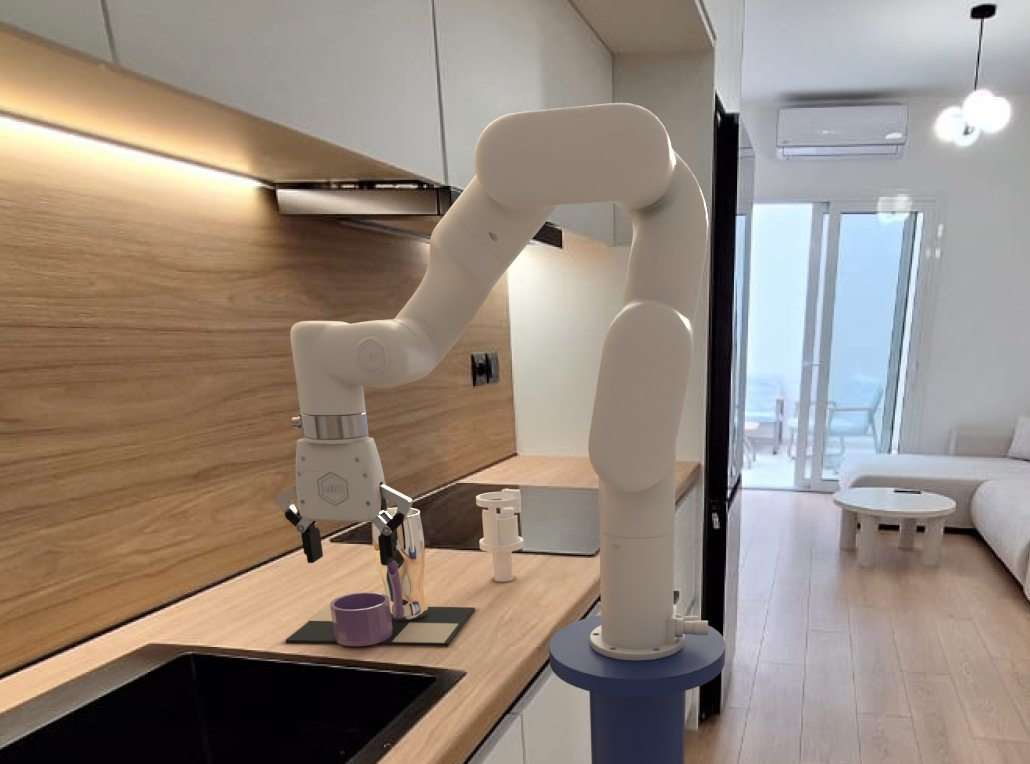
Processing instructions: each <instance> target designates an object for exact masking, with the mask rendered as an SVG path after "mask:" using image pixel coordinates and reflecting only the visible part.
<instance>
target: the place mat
mask: <svg viewBox="0 0 1030 764" xmlns="http://www.w3.org/2000/svg"><path fill="white" fill-rule="evenodd" d="M428 610H429V613H428V614H427V615H426V616H425V617H423V618H420V619H417V620H413V621H392V629H393V634H392V636H391V637H390V638H388V639H387V640H385V641H383V642H380V643H376V644H374V645H375V646H377V645H378V646H379V645H383V646H387V645H388V646H424V647H425V646H427V647H428V646H429V647H431V646H432V647H448V646H450V644H451V643H452V641H453V640H454V639H455V637H456V636H457V635H458V633H459V632H460V631H461V629H462V628H463V627H464V625H465V624H466V622H467V621H468V620H469V619H470V617H471V616H472V614H473V613H474V612H475V611H476V608H475V607H474V606H473V607H472V606H471V607H469V606H428ZM287 643H288V644H331V645H333V644H335V645H340V644H339V643H337V642H336V640H335V635H334V628H333V622H332V615H331V609H330V603H329V604H328V605H326V606H325V607H324V608H322V609H321V610H320V611H319V612H318V613H316V614H315V615H314V616H312V618H310V619H309V620H308V622H306V623H305V624H304V625H302V626H301V627H300V628H298V629H297V630H296V631H295V632H294V633H292V634H291V635H290V636H289V637H288V638H286V639H285V644H287Z"/></svg>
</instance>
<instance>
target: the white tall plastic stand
mask: <svg viewBox="0 0 1030 764" xmlns="http://www.w3.org/2000/svg"><path fill="white" fill-rule="evenodd" d="M475 504H476V506H478V507H480V508H488V509H481V511H482V513H481V518H482V529H483V537H482V538H480V539H479V541H478V542H479V549H480V550H481V551H483V552H488V553H492V563H493V575H494V576H493V577H494V581H495V582H499V583H505V582H510V581H513V580H514V568H513V554H512V552H516V551H519V550H522V549H523V548H524V546H525V545H524V538H523V537H522V536H520V535H519V524H518V515H517V514H520V513H521V512H522V495H521V489H515V488H514V489H510V488H503V489H502V490H500V491H492V492H485V493H481V494H478V495H476V496H475ZM497 509H499V511H500V513H497Z"/></svg>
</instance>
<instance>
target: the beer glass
mask: <svg viewBox="0 0 1030 764" xmlns="http://www.w3.org/2000/svg"><path fill="white" fill-rule="evenodd" d="M397 508H398V507H390V508H389V507H388V508H387V511H386V512H387V513H388V514H389V515H390V516H391V517H392V518H393V516H394V515H395V514H396V512H397ZM379 535H381V531H380V530H379V529H378V528H377V527H376V526H375V525H374V524H373V523H372V522H371V538H372V547H373V553H374V557H375V561H376V564H377V565H376V566H377V568H378V571H379V575H380V578H381V581H382V584H383V587H384V594H385V595H387V596H388V597H389V604H390V612H391V620H392V621H413V620H417V619H420V618H423V617H425V616H426V615H427V614H428V613H429V610H428V607H429V606H428V603H427V600H426V597H425V596H426V595H425V590H424V578H425V577H424V576H425V563H426V542H425V541H426V540H425V539H426V538H425V533H424V526H423V521H422V515H421V510H420V509H417V508H413V507H411V508H410V511H409V513H408V515H407V518H406V520H405V521H404V522H403V523H402V524H401V525H400V526H399V527H398V529H397V530H395V537H396V547H397V555H396V557H394V560H393V561H392V562H391V563H389V564H388V565H382V564H381V560H380V551H379V542H378V536H379Z"/></svg>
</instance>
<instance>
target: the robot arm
mask: <svg viewBox="0 0 1030 764" xmlns="http://www.w3.org/2000/svg"><path fill="white" fill-rule="evenodd" d="M668 133H669V132H668V131H667V129H666V127H665V125H664V124H663V122H662V121H661V120H660V118H659V117H658V116H657V115H656V114H655V113H653V112H652V111H651V110H649V109H647V108H645V107H643V106H641V105H639V104H633V103H628V102H611V103H599V104H589V105H581V106H571V107H570V106H569V107H559V108H549V109H548V108H547V109H536V110H525V111H517V112H512V113H507V114H504V115H501V116H499V117H498V118H496V119H494V120H493V121H491V122H489V124H488V125H487V126H486V127H485V128H484V129H483V131H482V132H481V133H480V135H479V137H478V140H477V142H476V144H475V148H474V153H473V163H474V164H473V165H474V170H475V175H474V177H473V178H472V179H471V181H470V182H469V183H468V184H467V186H466V187H465V188H464V190H463V191H462V192H461V194H460V195H459V196H458V197H457V198H456V200H455V201H454V202H453V204H452V205H451V206H450V208H449V209H448V210H447V212H445V214H444V215H443V217H442V218H441V219H440V220H439V222H438V223H437V224H436V225H435V227H434V228H433V230H432V232H431V235H430V240H429V260H428V265H427V268H426V270H425V271H426V272H425V274H424V275H423V279H422V280H421V282H420V283H419V286H418V287H417V289H415V291H414V293H413V294H412V295H411V296H410V298H409V299H408V301H406V303H405V304H404V306H403V307H402V309H401V310H400V311H399V312H398V314H397V315H396V316H395V317H394V318H393V319H390V318H389V319H378V320H377V319H375V320H368V321H360V322H354V323H349V322H347V321H346V322H345V321H340V320H339V321H338V320H336V321H335V320H303V321H302V320H301V321H298V322H295V323H294V324H293V325H292V326H291V328H290V331H289V337H290V344H291V345H290V346H291V353H292V361H293V368H294V369H293V370H294V375H295V382H296V383H295V384H296V389H297V399H298V404H299V413H298V416H295V417H294V416H293V417H292V418H291V421H290V423H291V427H292V428H293V429H298V430H300V431H301V435H302V436H303V438H299V439H297V441H296V449H295V487H292V488H290V489H289V490H286V491H285V492H283V493H281V494H280V495H277V496H276V497H275V502H276V503H277V505H278V507H279V508H280V510H281V512H282V513H283V514H284V517H285V519H286V520H287V521H288V522H289V523H290V524H292V525H293V526H294V527H295V530H296V531H297V533H300V535H301V541H302V549H303V553H304V555H306V561H307V563H308V564H314V563H315V562H316V561H319V560H320V559H321V558H323V557H324V552H323V546H322V545H323V544H322V538H321V537H322V536H321V529H319V527H317V526H316V524H317V523H318V522H334V523H336V522H337V523H369V522H371V524H372V523H373V524H374V525H375V526H376V527H377V528H378V529H379V530H380V531H381V535H379V536H378V542H379V551H380V560H381V564H382V565H388V564H389V563H391V562H392V561H393V560H394V557H396V555H397V547H396V537H395V530H397V529H398V527H399V526H400V525H401V524H402V523H403V522H404V521H405V520H406V518H407V515H408V513H409V511H410V508H412V506H413V504H414V500H413V499H412V498H411V497H409V496H407V495H406V494H403V493H402V492H400V491H397V490H396V489H394V488H392V487H390V486H388V485H387V484H386V481H385V475H384V474H385V473H384V470H383V466H382V462H381V458H380V454H379V451H378V447H377V444H376V441H375V439H374V438H373V437H369V428H368V427H369V426H368V417H367V411H366V401H365V399H366V398H365V390H364V387H369V388H374V389H375V388H376V389H392V388H396V387H400V386H403V385H406V384H410V383H415V382H418V381H420V380H422V379H424V378H426V377H427V376H428V375H429V374H430V373H432V372H433V371H434V370H435V368H437V366H438V365H439V364H440V363H441V362H442V360H443V359H444V358H445V357H446V356H447V354H448V353H449V352H450V351H451V350H452V348H453V347H454V346H455V345H456V344H457V343H458V341H459V340H460V338H461V337H462V336H463V334H464V333H465V332H466V331H467V329H468V328H469V326H470V325H471V323H472V321H473V320H474V319H475V317H476V315H477V314H478V312H479V311H480V309H481V308H482V306H483V305H484V304H485V302H486V301H487V299H488V297H489V295H490V293H491V291H492V290H493V288H494V287H495V286H496V284H497V283H498V281H499V280H500V279H501V278H502V277H503V275H504V274H505V273H506V271H507V270H508V269H510V267H511V265H512V264H513V263H514V261H516V259H517V258H518V256H519V255H520V254H521V253H522V251H524V249H525V248H526V247H527V245H528V244H529V243H530V242H531V241H532V239H533V238H534V237H535V236H536V235H537V233H538V232H539V231H540V230H541V229H542V228H543V226H544V225H545V224H546V223H547V222H548V220H549V219H550V218H551V216H552V215H553V214H554V213H555V212H556V210H557V209H558V207H559V206H566V205H580V204H581V205H582V204H593V203H604V202H612V203H613V204H614V205H616V206H618V207H619V208H621V209H622V210H623V211H625V212H626V213H627V215H628V216H629V218H630V221H631V224H632V241H631V248H630V251H629V257H628V262H627V263H628V265H627V274H626V281H625V286H624V293H623V298H622V303H621V307H620V311H619V312H618V313H617V315H615V317H614V318H613V320H612V321H611V323H610V325H609V327H608V329H607V331H606V333H605V334H606V335H605V339H604V342H603V346H602V352H601V356H600V357H601V358H600V364H599V371H598V376H597V384H596V390H595V398H594V402H593V408H592V415H591V420H590V421H591V422H590V427H589V434H588V435H589V436H588V445H587V448H588V457H589V461H590V464H591V466H592V469H593V470H594V472H595V474H596V475H597V477H598V532H599V534H598V537H599V541H598V542H599V577H600V578H599V579H600V581H599V582H600V584H599V585H600V615H601V626H599V627H597V628H596V629H594V630H593V631H592V632H591V634H590V645H591V647H592V648H593V649H594V650H595V651H596V652H598V653H599V654H601V655H604V656H607V657H610V658H614V659H620V660H629V661H645V660H654V659H660V658H664V657H667V656H670V655H672V654H675V653H676V652H678V651H679V650H681V649H682V647H683V646H684V644H685V635H684V634H694V635H708V625H709V621H708V620H699V615H682V613H677V604H675V603H674V601H675V599H674V598H675V597H674V595H675V592H674V591H675V528H676V471H677V438H678V433H679V429H680V423H681V419H682V413H683V408H684V404H685V399H686V394H687V389H688V384H689V380H690V379H689V378H690V373H691V368H692V360H693V356H694V349H695V347H694V346H695V344H694V341H695V340H694V331H695V323H696V317H697V310H698V306H699V302H700V295H701V290H702V289H701V288H702V281H703V275H704V268H705V263H706V256H707V251H708V250H707V249H708V243H709V242H708V241H709V219H708V217H709V216H708V210H707V205H706V200H705V198H704V194H703V191H702V189H701V187H700V184H699V181H698V180H697V177H696V176H695V174H694V172H693V171H692V170H691V169H690V167H689V166H688V164H687V163H686V162H685V161H684V159H682V157H681V156H680V155H679V154H678V153H677V152H676V151H675V150H674V148H673V147H672V143H671V139H670V136H669V134H668ZM294 500H296V501H297V506H298V508H296V506H295V504H294ZM388 502H391V503H393V504H395V506H396V508H397V512H396V514H395V515H394V516H393V518H392V517H391V516H390V515H389V514H388V513H387V512H386V511H387V509H388V508H389V506H388Z"/></svg>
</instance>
